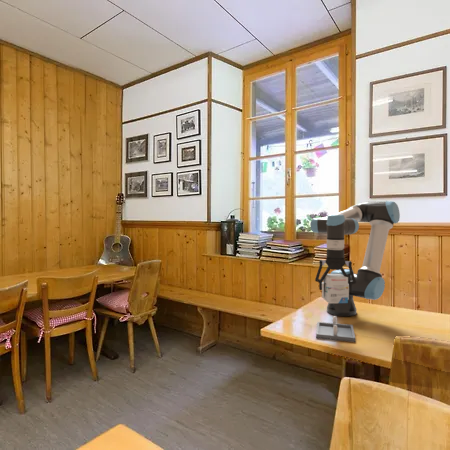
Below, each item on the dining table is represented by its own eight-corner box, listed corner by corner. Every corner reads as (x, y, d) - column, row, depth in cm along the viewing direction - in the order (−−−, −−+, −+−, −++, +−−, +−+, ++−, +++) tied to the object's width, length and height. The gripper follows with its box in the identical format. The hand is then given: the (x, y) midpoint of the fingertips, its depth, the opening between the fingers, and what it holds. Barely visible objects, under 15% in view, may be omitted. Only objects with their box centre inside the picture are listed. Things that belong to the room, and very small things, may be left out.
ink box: (340, 298, 150) (341, 273, 149) (348, 303, 141) (348, 277, 141) (322, 298, 150) (322, 273, 149) (329, 303, 141) (329, 277, 140)
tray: (317, 325, 156) (317, 313, 156) (352, 328, 152) (352, 316, 151) (316, 338, 141) (316, 325, 141) (355, 342, 136) (355, 329, 136)
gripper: (309, 249, 144) (308, 298, 145) (363, 250, 137) (363, 302, 138) (309, 247, 151) (309, 294, 152) (361, 248, 145) (361, 297, 146)
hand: (335, 297), depth 145 cm, fingers closed on ink box, 10 cm apart
